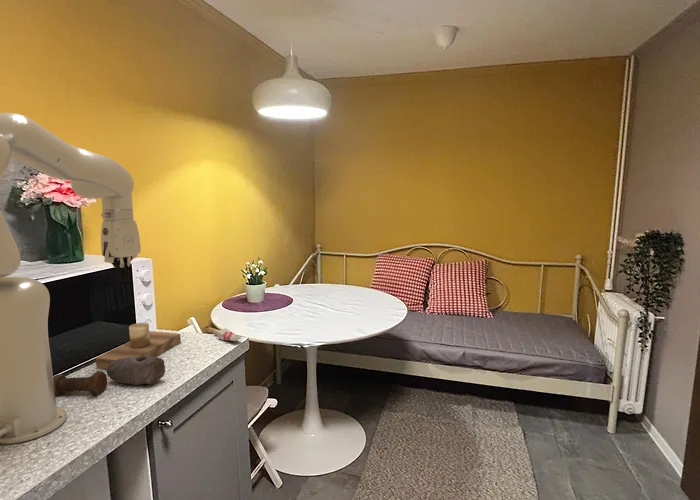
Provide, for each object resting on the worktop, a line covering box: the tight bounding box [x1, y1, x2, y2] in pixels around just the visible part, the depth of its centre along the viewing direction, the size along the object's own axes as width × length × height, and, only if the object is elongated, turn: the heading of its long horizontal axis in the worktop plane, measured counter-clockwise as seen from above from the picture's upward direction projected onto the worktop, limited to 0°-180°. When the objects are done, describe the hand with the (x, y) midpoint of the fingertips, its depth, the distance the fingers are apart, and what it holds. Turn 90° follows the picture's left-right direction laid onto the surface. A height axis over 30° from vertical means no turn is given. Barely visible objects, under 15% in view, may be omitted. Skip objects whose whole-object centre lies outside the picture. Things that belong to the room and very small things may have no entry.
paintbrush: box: [202, 325, 242, 342], centre depth 140 cm, size 4×3×20 cm
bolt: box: [53, 370, 108, 397], centre depth 102 cm, size 6×5×15 cm
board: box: [95, 330, 182, 371], centre depth 126 cm, size 22×11×3 cm, turn 167°
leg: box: [128, 322, 150, 348], centre depth 125 cm, size 5×5×8 cm
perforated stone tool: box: [106, 356, 166, 386], centre depth 108 cm, size 15×5×7 cm, turn 81°
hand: (123, 280), depth 121 cm, fingers closed
